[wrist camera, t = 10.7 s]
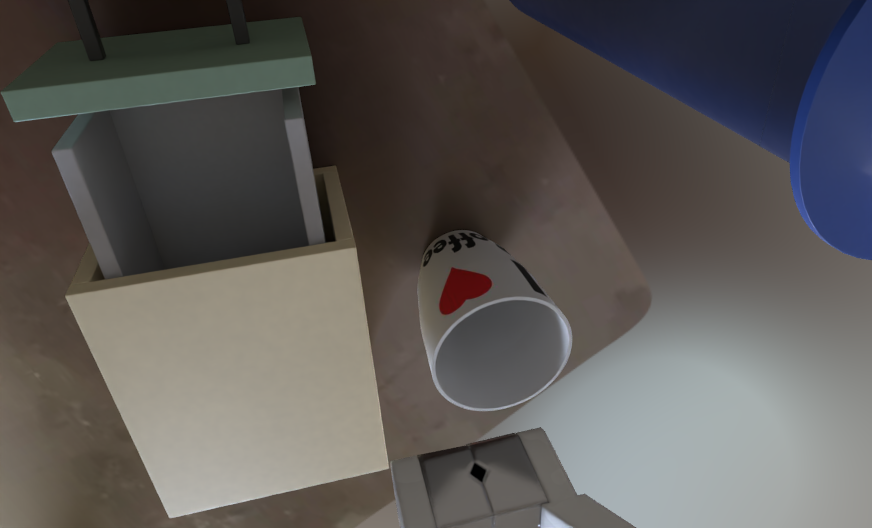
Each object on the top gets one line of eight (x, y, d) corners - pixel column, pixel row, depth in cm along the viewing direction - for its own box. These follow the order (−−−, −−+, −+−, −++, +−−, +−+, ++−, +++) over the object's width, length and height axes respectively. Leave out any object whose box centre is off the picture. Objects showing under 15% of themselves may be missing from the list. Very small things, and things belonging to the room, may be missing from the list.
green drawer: (15, -67, 27) (-61, -46, 21) (283, -89, 29) (290, -75, 23) (150, 291, 38) (127, 379, 31) (341, 259, 39) (357, 336, 33)
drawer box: (109, 197, 35) (64, 295, 27) (335, 164, 37) (356, 246, 29) (186, 399, 44) (169, 518, 36) (366, 363, 46) (389, 468, 38)
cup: (519, 205, 41) (582, 289, 33) (507, 304, 46) (561, 400, 38) (398, 215, 40) (434, 305, 32) (398, 317, 44) (429, 420, 36)
